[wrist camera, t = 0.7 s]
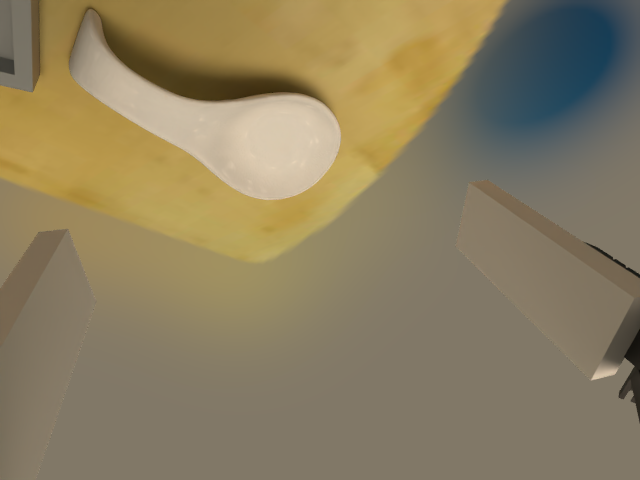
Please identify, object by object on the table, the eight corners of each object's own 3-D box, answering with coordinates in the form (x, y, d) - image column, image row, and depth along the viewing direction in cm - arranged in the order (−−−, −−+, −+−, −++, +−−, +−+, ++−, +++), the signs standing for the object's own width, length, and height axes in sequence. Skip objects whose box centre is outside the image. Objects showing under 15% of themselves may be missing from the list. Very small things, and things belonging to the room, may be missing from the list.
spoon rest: (351, 109, 41) (378, 147, 36) (290, 192, 47) (307, 234, 42) (101, -43, 27) (92, -13, 22) (55, 102, 32) (40, 151, 28)
